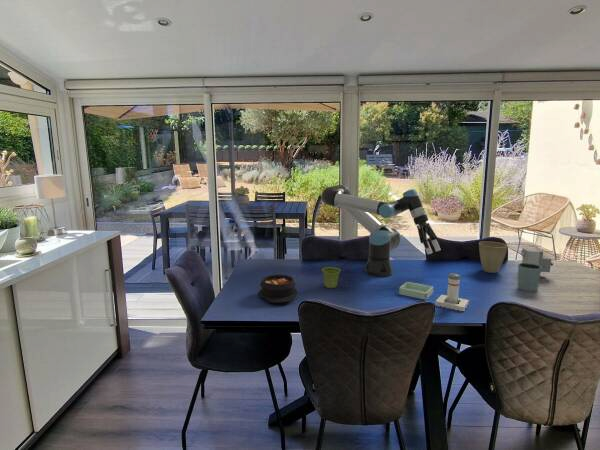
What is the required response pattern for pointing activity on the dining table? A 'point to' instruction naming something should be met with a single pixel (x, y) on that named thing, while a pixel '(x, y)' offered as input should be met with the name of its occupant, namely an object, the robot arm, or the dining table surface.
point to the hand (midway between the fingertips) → (434, 252)
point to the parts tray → (416, 290)
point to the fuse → (453, 288)
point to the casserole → (278, 288)
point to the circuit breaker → (536, 258)
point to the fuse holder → (461, 306)
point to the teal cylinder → (528, 276)
